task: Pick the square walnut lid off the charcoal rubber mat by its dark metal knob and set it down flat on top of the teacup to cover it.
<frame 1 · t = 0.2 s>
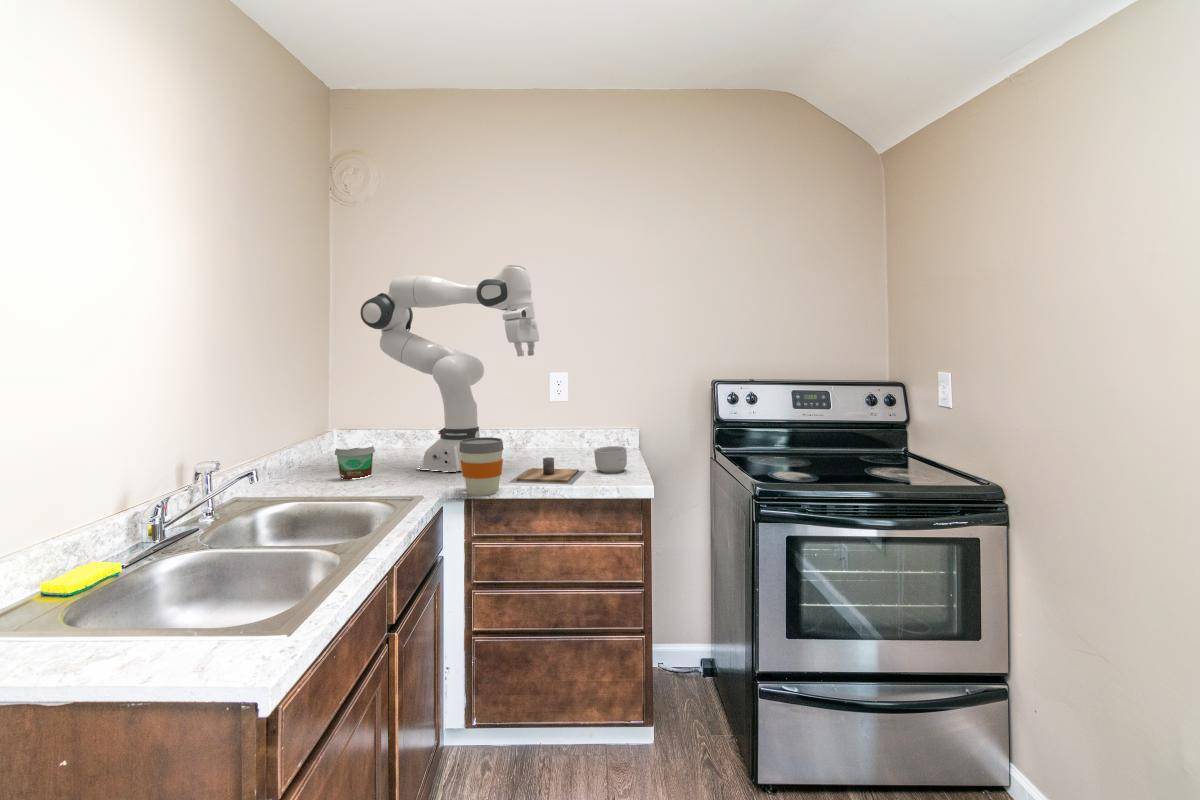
hand: (526, 356, 206), 39 cm above the table, tool pointing down, fingers open, 8 cm apart
rubber mat: (548, 477, 197), on the table
walnut lid: (548, 476, 197), resting on rubber mat
teacup: (611, 471, 206), on the table
food container: (357, 479, 198), on the table
reusable coffee cup: (482, 492, 179), on the table
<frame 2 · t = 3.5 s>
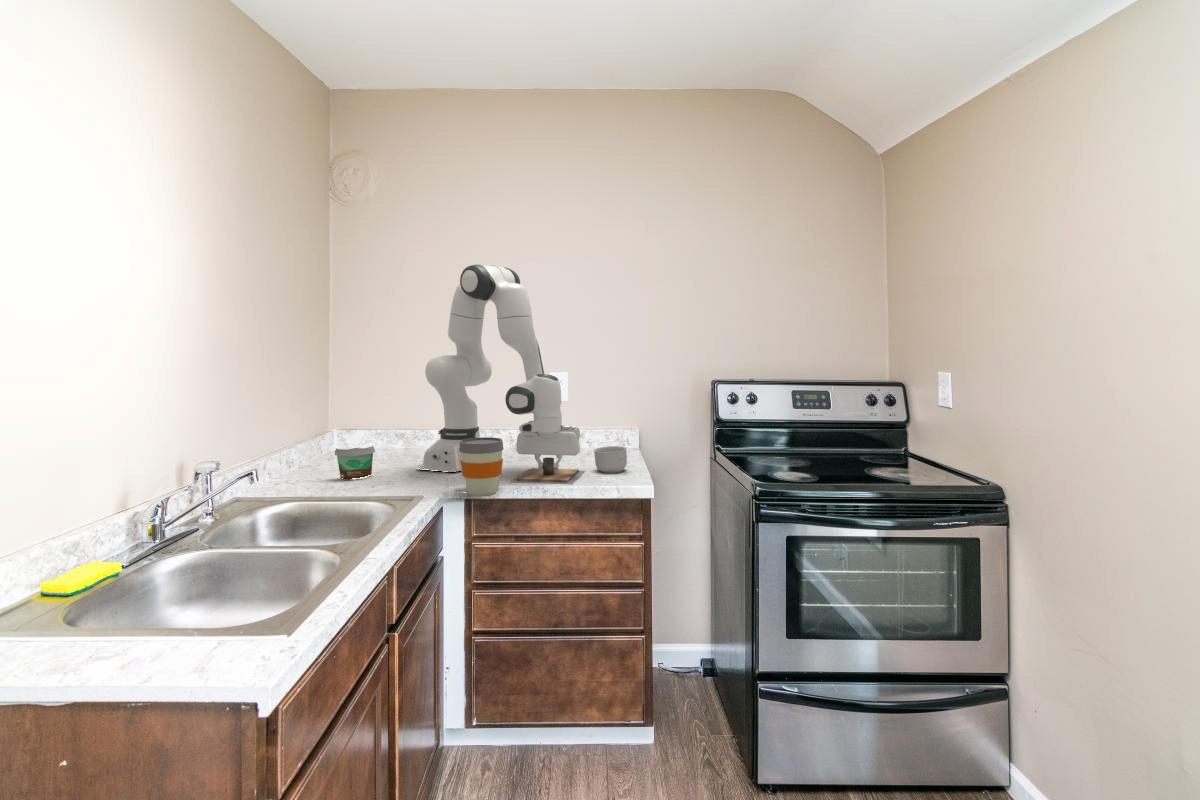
hand: (548, 468, 197), 3 cm above the table, tool pointing down, fingers closed on walnut lid, 3 cm apart
walnut lid: (548, 476, 197), resting on rubber mat, touching gripper
everything else where it was.
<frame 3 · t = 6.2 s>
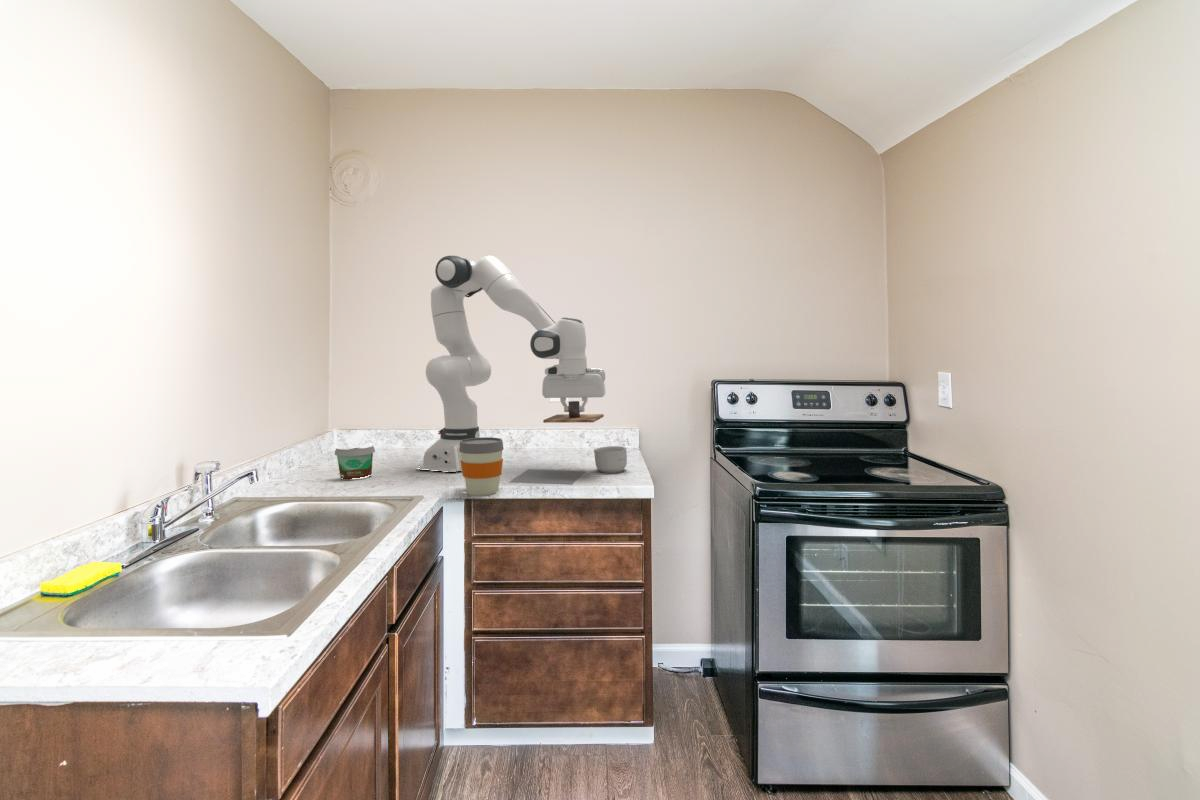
hand: (574, 411, 198), 21 cm above the table, tool pointing down, fingers closed on walnut lid, 3 cm apart
walnut lid: (574, 419, 198), point 18 cm above the table, touching gripper
everything else where it was.
when the fingers open (12 cm above the table, at t = 9.0 s): walnut lid drops 2 cm, resting on teacup.
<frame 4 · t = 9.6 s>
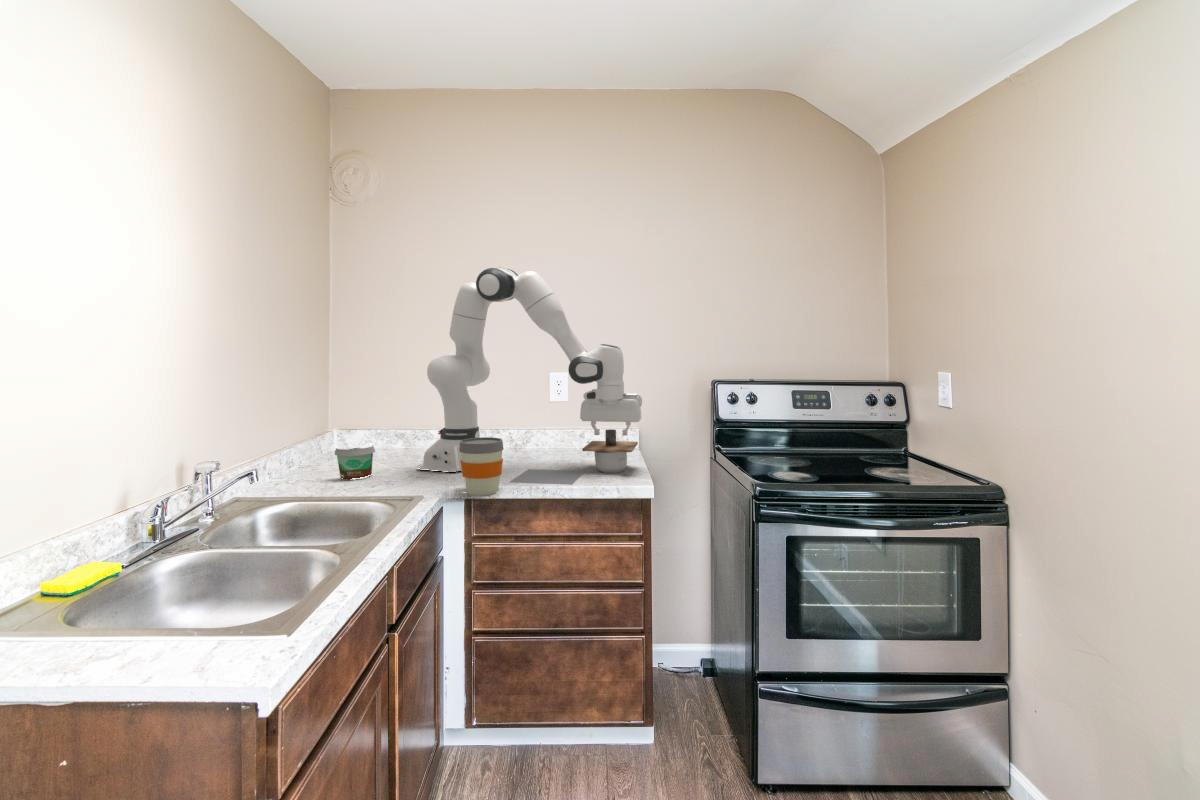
hand: (610, 435, 205), 12 cm above the table, tool pointing down, fingers open, 8 cm apart
walnut lid: (610, 447, 205), point 8 cm above the table, touching teacup
teacup: (611, 471, 206), on the table, touching walnut lid
everything else where it was.
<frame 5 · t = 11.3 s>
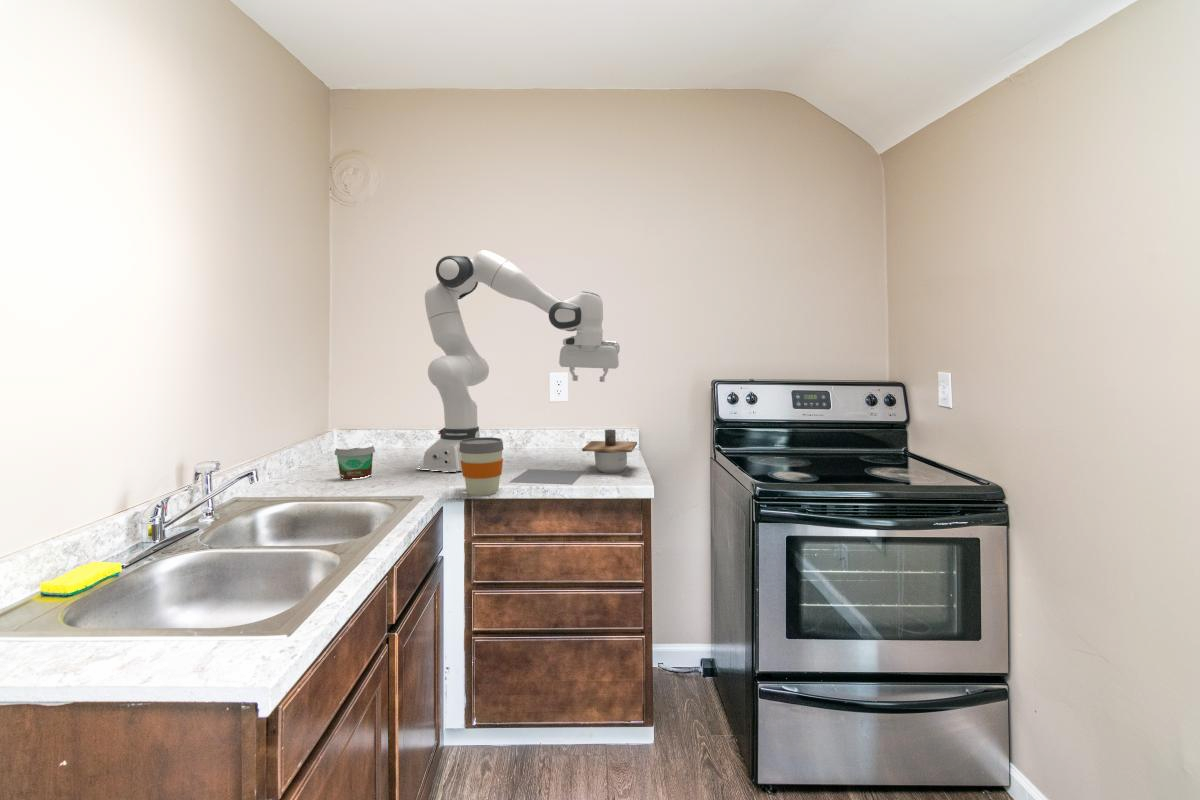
hand: (588, 381, 210), 30 cm above the table, tool pointing down, fingers open, 8 cm apart
nothing on the table moved.
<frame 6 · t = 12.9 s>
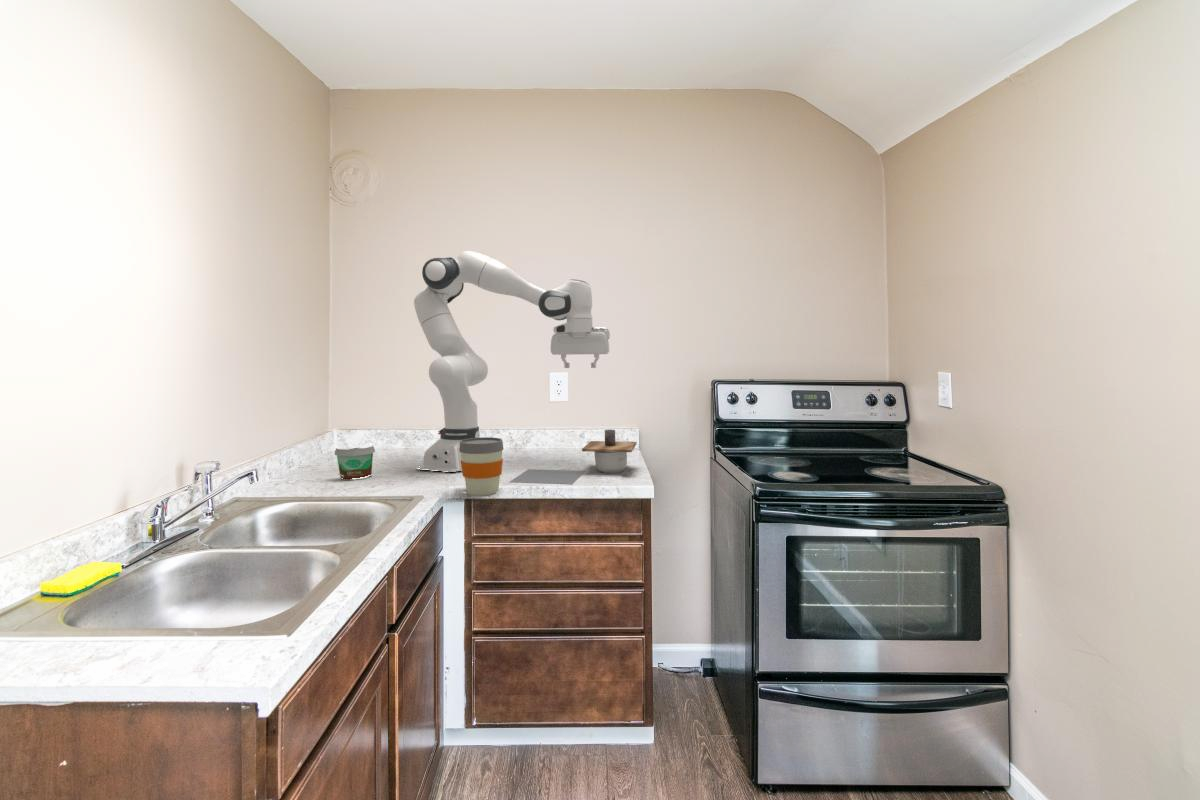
hand: (580, 367, 213), 34 cm above the table, tool pointing down, fingers open, 8 cm apart
nothing on the table moved.
at the end: walnut lid 0.4 cm off-centre on the teacup, point 8.2 cm above the teacup's base; walnut lid tilted 0°; walnut lid touching teacup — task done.
